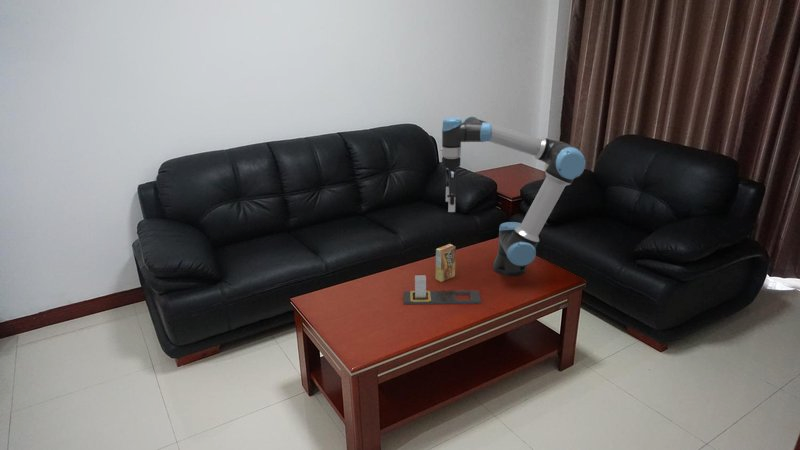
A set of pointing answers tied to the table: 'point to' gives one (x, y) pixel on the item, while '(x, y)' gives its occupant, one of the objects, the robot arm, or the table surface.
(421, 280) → the steel block
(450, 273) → the candy box
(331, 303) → the table surface
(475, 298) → the rail
